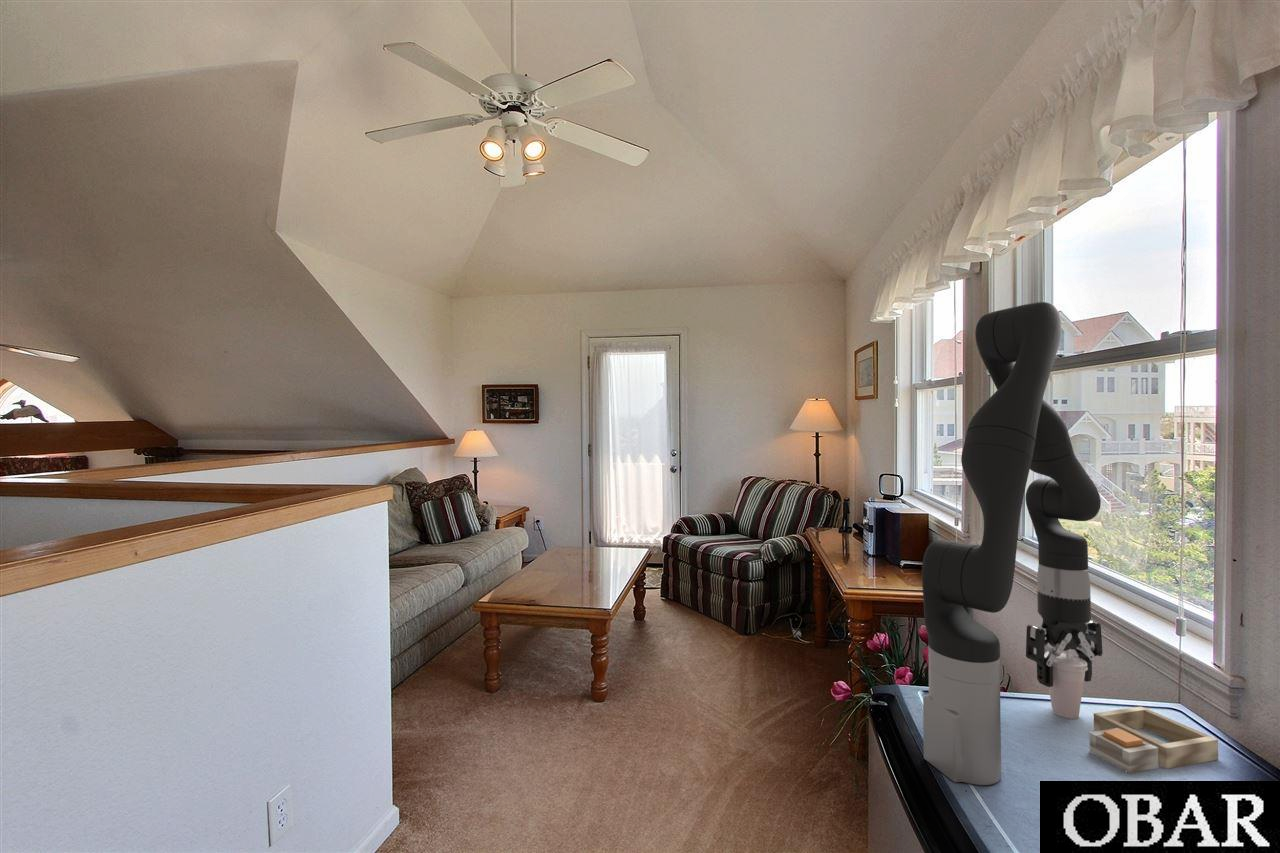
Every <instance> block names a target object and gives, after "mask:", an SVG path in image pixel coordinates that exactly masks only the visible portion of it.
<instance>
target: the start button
mask: <svg viewBox="0 0 1280 853" xmlns="http://www.w3.org/2000/svg"><path fill="white" fill-rule="evenodd" d="M1104 737H1106V738H1108V739H1110V740H1112V741H1114V742H1115V743H1117V744H1119V745H1121V746H1123V747H1125V748H1133V747H1139V746H1143V740H1142V739H1140V738H1138V737H1136V736H1134V735H1132V734H1130V733H1128V732H1126V731H1124V730H1122V729H1114V730H1108V731H1104Z"/></svg>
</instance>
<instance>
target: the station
mask: <svg viewBox="0 0 1280 853" xmlns="http://www.w3.org/2000/svg"><path fill="white" fill-rule="evenodd" d="M1114 729H1122V730H1124V731H1126V732H1128V733H1130V734H1132V735H1134V736H1136V737H1138V738H1140V739H1142V740H1143V746H1139V747H1133V748H1125V747H1123V746H1121V745H1119V744H1117V743H1115V742H1114V741H1112V740H1110V739H1108V738H1106V737H1104V731H1108V730H1114ZM1139 729H1145V730H1148V731H1150V732H1152V733H1154V734H1156V735H1158V736H1161V737H1163V738H1165V739H1166V740H1169V741H1171V742H1167V743H1163V742H1161V741H1159V740H1157V739H1154V738H1152V737H1150V736H1148V735H1146V734H1144V733H1142V732H1139V731H1137V730H1139ZM1089 753H1092V754H1094V755H1095V756H1097V757H1098V758H1100V759H1102V760H1104V761H1105V762H1108V763H1110V764H1112V765H1113V766H1115V767H1117V768H1119V769H1121V770H1122V769H1123V770H1122V771H1124V770H1125V772H1126V771H1127V772H1126V773H1129V774H1133V773H1139V772H1145V771H1150V770H1155V769H1159V766H1160V767H1162V768H1164V769H1167V770H1168V769H1173V768H1179V767H1183V766H1184V767H1185V766H1190V765H1195V764H1200V763H1206V762H1211V761H1217V760H1219V739H1218V738H1215V737H1213V736H1211V735H1208V734H1206V733H1204V732H1202V731H1199V730H1198V729H1194V728H1192V727H1190V726H1188V725H1186V724H1183V723H1182V722H1179V721H1177V720H1174V719H1172V718H1169V717H1168V716H1167V717H1166V716H1164V715H1162V714H1160V713H1158V712H1155V711H1153V710H1150V709H1149V708H1147V707H1143V706H1135V707H1128V708H1121V709H1116V710H1108V711H1101V712H1094V713H1093V731H1090V732H1089Z"/></svg>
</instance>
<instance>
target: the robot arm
mask: <svg viewBox="0 0 1280 853" xmlns="http://www.w3.org/2000/svg"><path fill="white" fill-rule="evenodd" d="M1061 334H1062V320H1061V316H1060V313H1059V311H1058V309H1057V308H1056V306H1054V305H1053V304H1052V303H1050V302H1046V301H1040V302H1039V301H1038V302H1030V303H1025V304H1022V305H1016V306H1013V307H1007V308H1003V309H1000V310H999V309H998V310H996V311H995V310H994V311H991V312H988V313H985V314H984V315H982V316H981V317H980V318H979V319H978V321H977V323H976V326H975V332H974V335H975V342H976V346H977V349H978V352H979V355H980V358H981V359H982V362H983V363H984V366H985V368H986V371H987V372H988V373H989V376H990V378H991V381H992V382H993V384H994V387H995V388H996V391H995V392H994V393H993V394H992V395H991V396H990V397H989V398H988V399H987V400H986V401H985V402H984V403H983V404H982V406H980V407H979V409H978V410H977V411H976V413H975V414H974V415H973V416H972V418H971V420H970V421H969V424H968V426H967V430H966V435H965V438H964V443H963V448H962V449H961V450H962V452H961V455H960V456H961V459H960V463H961V467H962V469H963V473H964V475H965V477H966V480H967V481H968V484H969V485H970V487H971V489H972V492H973V493H974V496H975V498H976V499H977V502H978V503H979V506H980V509H981V513H982V517H983V533H982V540H981V543H980V545H979V544H975V543H968V542H967V543H966V542H962V541H961V542H959V541H955V540H954V541H953V540H947V539H946V540H945V539H939V540H938V539H937V540H934V541H933V542H931V543H929V545H928V546H927V547H926V550H925V552H924V555H923V559H922V565H921V584H922V596H923V599H922V600H923V614H924V616H923V617H924V618H923V619H924V626H925V630H926V634H927V636H928V644H927V645H928V648H927V649H928V695H924V696H923V699H922V701H923V702H922V705H923V709H922V710H923V711H922V712H923V715H922V716H923V718H922V721H923V759H924V760H926V761H927V762H928V763H930V765H932V767H935V768H936V769H937V770H939V771H940V772H941V774H943V775H944V776H946V777H947V778H948V779H949V780H950V781H952V782H954V783H962V782H963V783H965V784H966V783H967V784H971V785H977V786H988V785H989V786H990V785H995V784H997V783H998V782H999V781H1001V779H1002V731H1001V730H1002V729H1001V728H1002V727H1001V726H1002V725H1001V724H1002V723H1001V722H1002V721H1001V654H1000V653H1001V644H1000V640H999V638H998V636H997V635H996V634H995V633H994V632H993V631H992V630H990V628H989V629H988V628H987V627H986V626H984V625H983V624H981V623H980V622H978V621H977V620H976V619H974V618H973V617H972V616H971V615H970V614H969V612H968V611H967V610H966V609H965V608H964V607H966V608H969V609H973V610H977V611H982V612H986V613H992V614H994V613H995V614H996V613H1000V612H1001V611H1002V610H1003V609H1004V608H1005V607H1006V606H1007V605H1008V602H1009V599H1010V596H1011V595H1012V594H1011V593H1012V590H1013V584H1014V579H1015V578H1014V577H1015V570H1016V560H1017V559H1016V558H1017V548H1018V538H1019V537H1018V536H1019V528H1020V519H1021V513H1022V507H1023V502H1024V497H1025V504H1026V508H1027V509H1026V510H1027V512H1028V515H1029V517H1030V520H1031V523H1032V526H1033V529H1034V532H1035V535H1036V539H1037V543H1038V548H1037V549H1038V567H1037V573H1036V588H1037V589H1036V590H1037V591H1036V592H1037V594H1036V595H1037V598H1036V600H1037V613H1038V614H1039V615H1040V617H1041V619H1042V623H1041V625H1040V626H1035V625H1033V624H1032V625H1031V624H1027V626H1026V638H1025V639H1026V640H1025V657H1026V658H1027V659H1028V660H1031V661H1032V662H1036V680H1037V681H1038V683H1039V684H1040V685H1043V686H1045V687H1047V688H1049V687H1052V686H1053V666H1051V665H1052V664H1053V662H1054V660H1055V658H1056V657H1058V656H1060V655H1061V654H1062V653H1064V652H1066V651H1067V650H1069V649H1070V650H1073V652H1074V653H1075V655H1076V656H1077V657H1079V658H1081V659H1083V660H1085V661H1086V662H1087V668H1088V670H1087V671H1085V677H1084V682H1086V683H1089V682H1092V678H1093V661H1094V660H1095V658H1096V657H1101V656H1102V655H1103V638H1102V625H1101V623H1099V622H1097V621H1093V620H1092V604H1091V602H1092V601H1091V598H1092V597H1091V579H1090V573H1089V553H1088V552H1089V549H1088V546H1089V545H1088V542H1087V539H1086V538H1085V537H1084V536H1083V535H1081V534H1078V533H1076V532H1072V531H1071V530H1068V529H1066V528H1064V526H1063V525H1062V524H1061V522H1060V520H1065V521H1066V520H1068V521H1075V522H1088V521H1091V520H1093V519H1095V518H1096V516H1097V515H1098V514H1099V512H1100V510H1101V504H1102V503H1101V502H1102V500H1101V495H1100V492H1099V490H1098V488H1097V486H1096V484H1095V483H1094V482H1093V480H1092V479H1091V477H1090V475H1089V474H1088V473H1087V472H1086V470H1085V468H1084V467H1083V465H1082V463H1081V462H1080V461H1079V459H1078V458H1077V457H1076V455H1075V451H1074V447H1073V443H1072V442H1071V437H1070V433H1069V430H1068V427H1067V424H1066V423H1065V421H1064V419H1063V417H1062V416H1061V415H1060V413H1059V412H1058V411H1057V410H1056V408H1054V407H1053V406H1052V405H1051V404H1049V402H1047V400H1045V399H1044V396H1045V392H1046V388H1047V385H1048V382H1049V379H1050V375H1051V374H1052V369H1053V366H1054V363H1055V360H1056V356H1057V353H1058V350H1059V346H1060V342H1061V337H1062V336H1061ZM1030 470H1031V471H1032V472H1034V473H1036V474H1038V475H1042V476H1046V477H1048V478H1037V479H1035V480H1032V481H1031V483H1030V484H1029V485H1028V487H1027V488H1026V486H1027V483H1028V478H1029V473H1030ZM1092 643H1093V646H1092ZM1048 644H1049V645H1050V646H1051V647H1050V646H1048ZM1035 650H1036V653H1035V652H1034V651H1035ZM1046 652H1048V653H1049V654H1048V656H1047V657H1046V658H1045V657H1044V655H1045V653H1046Z"/></svg>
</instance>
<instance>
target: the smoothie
mask: <svg viewBox="0 0 1280 853" xmlns="http://www.w3.org/2000/svg"><path fill="white" fill-rule="evenodd" d="M1048 654H1049V653H1048V652H1046V653H1045V655H1044V657H1045V658H1046V657H1047V656H1048ZM1051 666H1053V686H1052V687H1048V691H1049V697H1050V703H1051V711H1052V713H1054V714H1055V715H1057V716H1060V717H1061V718H1064V719H1070V720H1075V719H1078V718H1079V717H1080V710H1081V705H1082V704H1081V703H1082V697H1083V690H1084V683H1085V681H1084V677H1085V671H1087V670H1088V668H1087V662H1086V661H1085V660H1083V659H1081V658H1079V656H1077V655H1073V654H1071V649H1069V650H1067V651H1065V652H1062V654H1061V655H1060V656H1058V657H1056V658H1055V660H1054V662H1053V664H1052V665H1051Z"/></svg>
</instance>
